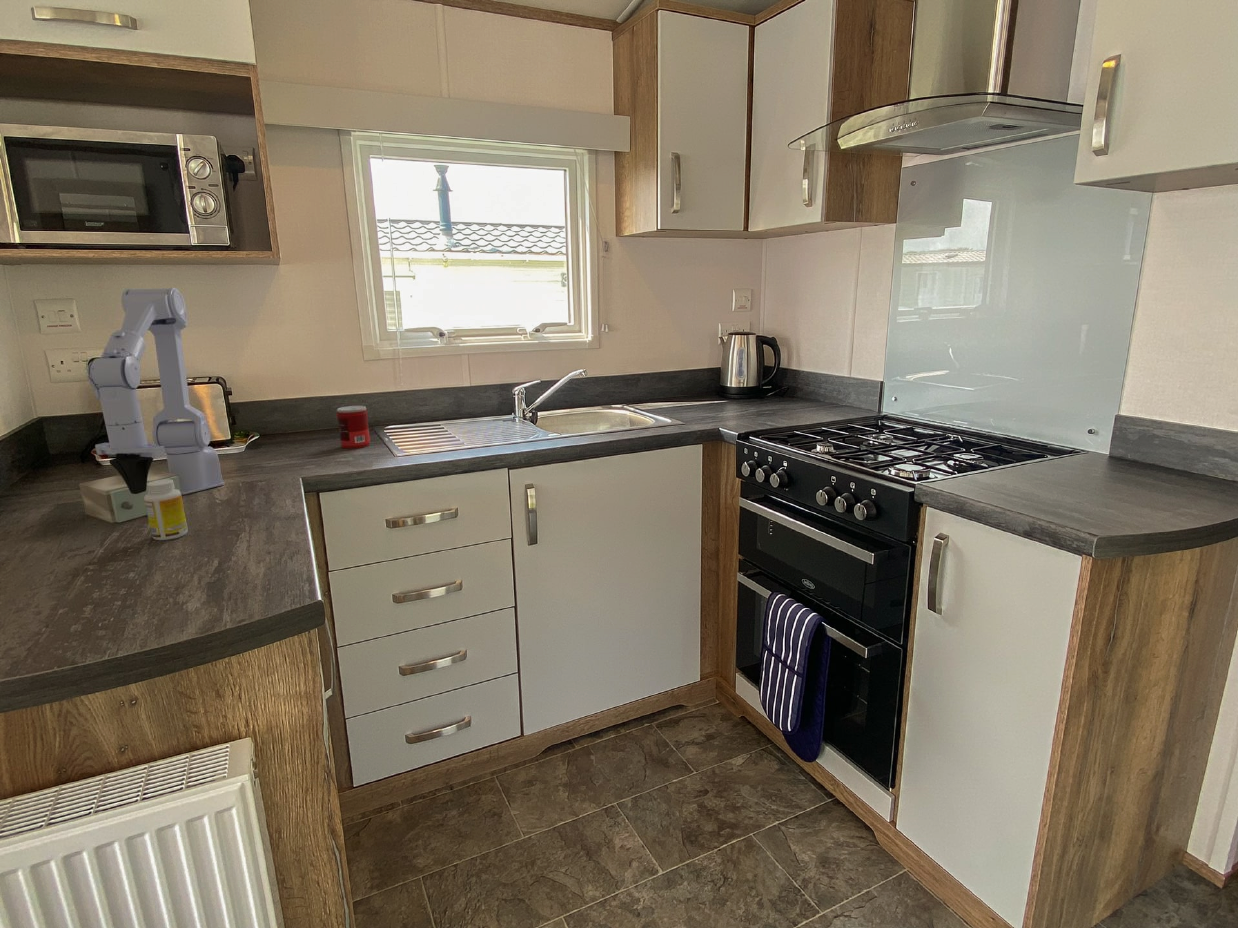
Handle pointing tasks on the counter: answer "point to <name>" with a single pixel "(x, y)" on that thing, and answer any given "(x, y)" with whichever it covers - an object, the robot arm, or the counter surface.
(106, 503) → the cabinet
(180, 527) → the supplement bottle
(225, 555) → the counter surface
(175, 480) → the door
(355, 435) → the canned food
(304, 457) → the counter surface
